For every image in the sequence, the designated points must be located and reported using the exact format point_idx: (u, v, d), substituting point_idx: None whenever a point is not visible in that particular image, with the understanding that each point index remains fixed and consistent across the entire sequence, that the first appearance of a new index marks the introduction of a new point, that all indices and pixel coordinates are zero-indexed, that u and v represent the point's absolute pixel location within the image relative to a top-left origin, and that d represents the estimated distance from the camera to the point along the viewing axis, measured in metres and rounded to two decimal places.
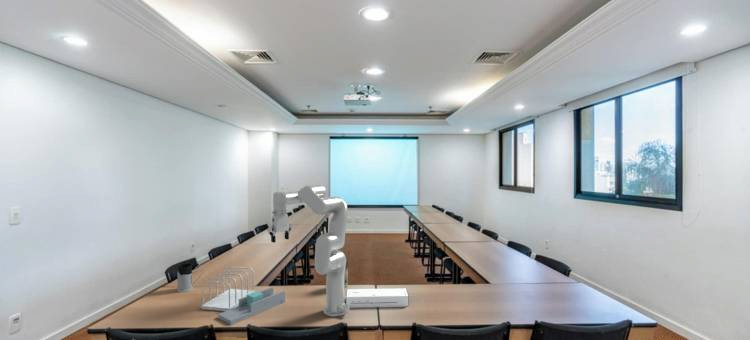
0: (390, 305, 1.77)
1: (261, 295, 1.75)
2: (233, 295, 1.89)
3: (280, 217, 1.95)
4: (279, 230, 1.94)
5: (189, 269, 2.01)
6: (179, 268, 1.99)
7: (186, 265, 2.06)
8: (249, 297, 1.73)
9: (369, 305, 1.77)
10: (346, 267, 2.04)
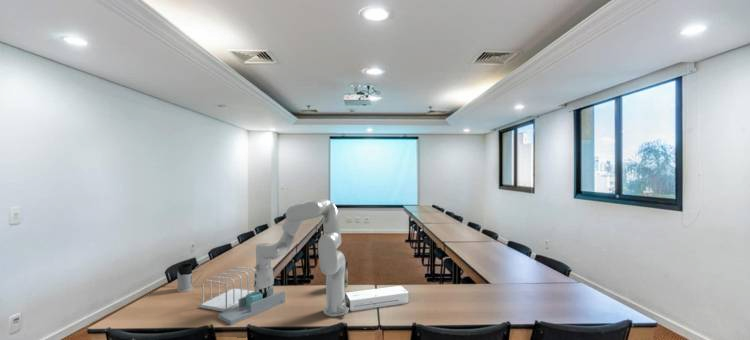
0: (392, 303, 1.79)
1: (260, 295, 1.75)
2: (235, 295, 1.89)
3: (263, 272, 1.77)
4: (262, 287, 1.76)
5: (189, 269, 2.01)
6: (179, 268, 1.99)
7: (186, 265, 2.06)
8: (248, 297, 1.73)
9: (372, 306, 1.76)
10: (346, 267, 2.04)
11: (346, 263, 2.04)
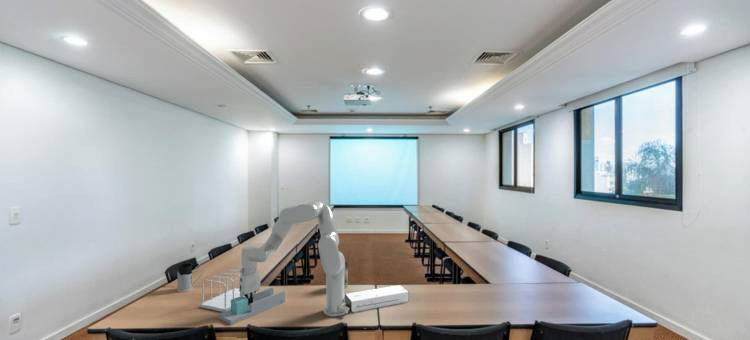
0: (392, 303, 1.80)
1: (245, 301, 1.68)
2: (235, 295, 1.89)
3: (249, 276, 1.70)
4: (247, 292, 1.69)
5: (189, 269, 2.01)
6: (179, 268, 1.99)
7: (186, 265, 2.06)
8: (233, 302, 1.66)
9: (373, 306, 1.75)
10: (346, 267, 2.04)
11: (346, 263, 2.04)
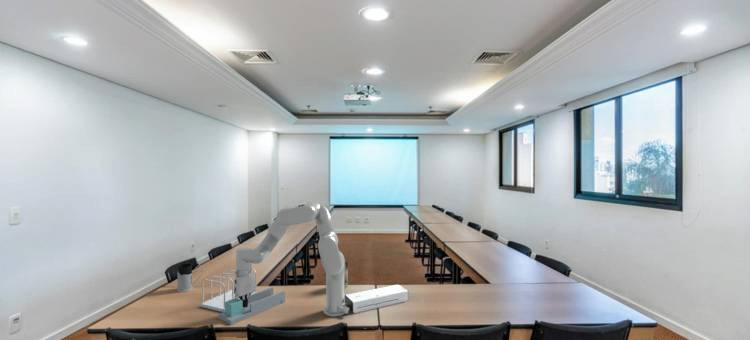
0: (393, 302, 1.80)
1: (240, 303, 1.66)
2: None
3: (244, 278, 1.67)
4: (242, 294, 1.67)
5: (189, 269, 2.01)
6: (179, 268, 1.99)
7: (186, 265, 2.06)
8: (227, 304, 1.64)
9: (374, 306, 1.75)
10: (346, 267, 2.04)
11: (346, 263, 2.04)
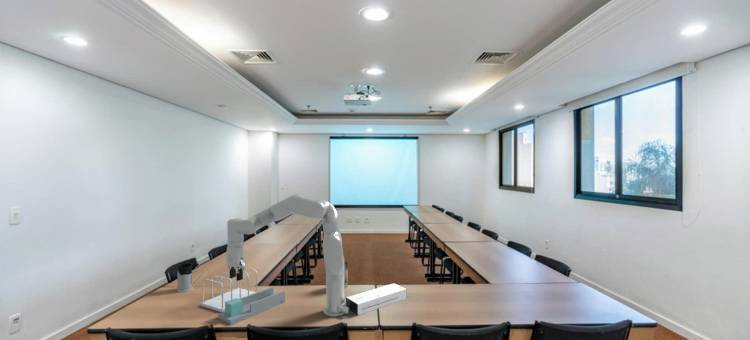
0: (393, 301, 1.82)
1: (240, 303, 1.66)
2: (236, 295, 1.89)
3: (229, 249, 1.65)
4: (227, 264, 1.66)
5: (189, 269, 2.01)
6: (179, 268, 1.99)
7: (186, 265, 2.06)
8: (227, 304, 1.64)
9: (377, 307, 1.75)
10: (346, 267, 2.04)
11: (346, 263, 2.04)
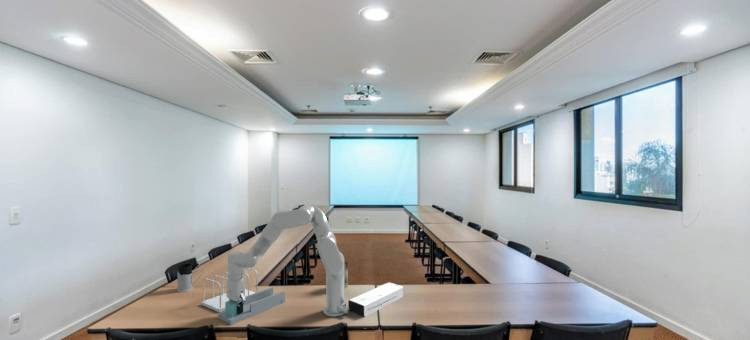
0: (393, 300, 1.83)
1: None
2: None
3: (229, 282, 1.65)
4: (228, 297, 1.66)
5: (189, 269, 2.01)
6: (179, 268, 1.99)
7: (186, 265, 2.06)
8: (228, 305, 1.64)
9: (380, 307, 1.75)
10: (346, 267, 2.04)
11: (346, 263, 2.04)
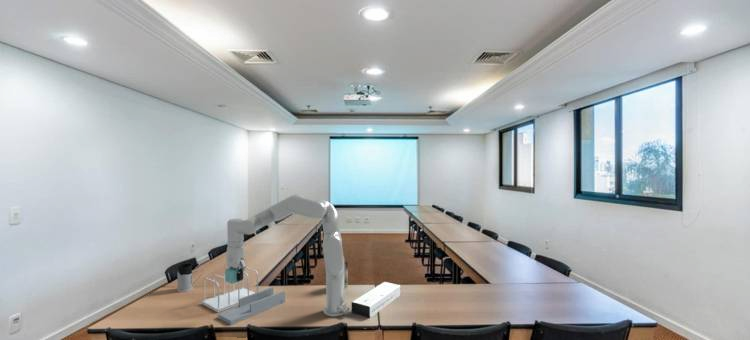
0: (392, 299, 1.85)
1: None
2: (237, 295, 1.89)
3: (229, 249, 1.65)
4: (227, 264, 1.66)
5: (189, 269, 2.01)
6: (179, 268, 1.99)
7: (186, 265, 2.06)
8: (228, 272, 1.63)
9: (382, 306, 1.75)
10: (346, 267, 2.04)
11: (346, 263, 2.04)
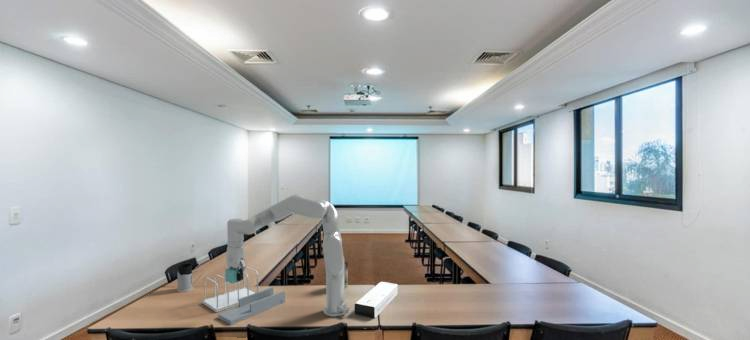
0: (391, 298, 1.86)
1: None
2: (237, 295, 1.89)
3: (229, 249, 1.65)
4: (227, 264, 1.66)
5: (189, 269, 2.01)
6: (179, 268, 1.99)
7: (186, 265, 2.06)
8: (228, 272, 1.63)
9: (384, 306, 1.75)
10: (346, 267, 2.04)
11: (346, 263, 2.04)
